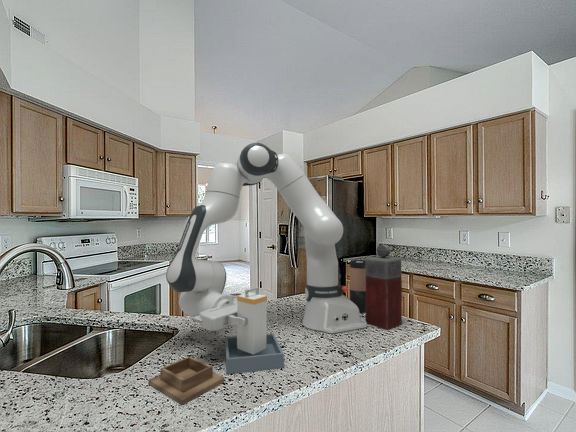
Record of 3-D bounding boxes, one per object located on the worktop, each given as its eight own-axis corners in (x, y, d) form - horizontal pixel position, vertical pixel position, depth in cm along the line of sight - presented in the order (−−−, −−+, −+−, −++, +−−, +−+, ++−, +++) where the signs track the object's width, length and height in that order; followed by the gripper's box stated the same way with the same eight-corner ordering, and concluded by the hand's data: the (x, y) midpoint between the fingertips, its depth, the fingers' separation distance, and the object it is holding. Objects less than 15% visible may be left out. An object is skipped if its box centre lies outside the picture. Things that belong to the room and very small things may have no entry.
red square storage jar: (405, 323, 110) (405, 244, 110) (387, 330, 103) (387, 246, 103) (383, 316, 117) (383, 242, 117) (365, 323, 110) (365, 244, 110)
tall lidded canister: (236, 348, 82) (237, 288, 82) (250, 342, 86) (250, 285, 87) (253, 354, 79) (253, 292, 79) (266, 348, 83) (267, 288, 83)
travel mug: (372, 310, 125) (372, 261, 126) (363, 314, 120) (363, 263, 120) (355, 306, 131) (355, 259, 131) (346, 310, 125) (346, 261, 125)
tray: (273, 345, 91) (273, 333, 91) (283, 367, 77) (283, 353, 77) (225, 349, 88) (225, 337, 88) (226, 374, 74) (226, 359, 74)
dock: (148, 384, 70) (148, 368, 70) (190, 365, 78) (190, 351, 79) (182, 405, 62) (182, 387, 62) (224, 381, 71) (224, 366, 71)
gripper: (189, 306, 82) (224, 316, 74) (244, 292, 98) (278, 299, 90) (189, 330, 82) (224, 343, 74) (244, 311, 98) (278, 320, 90)
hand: (254, 318), depth 82 cm, fingers closed on tall lidded canister, 5 cm apart
